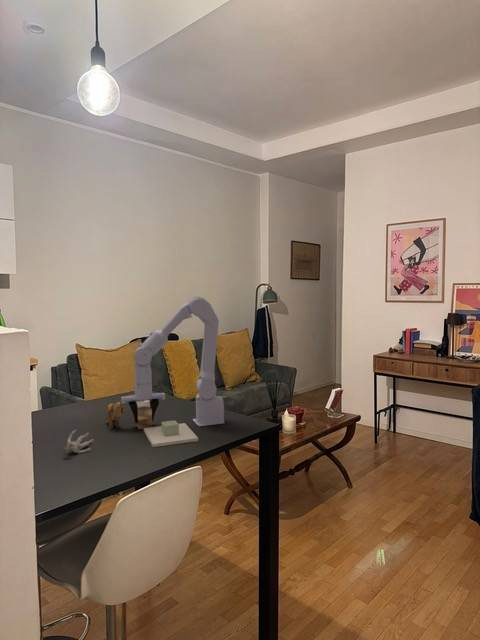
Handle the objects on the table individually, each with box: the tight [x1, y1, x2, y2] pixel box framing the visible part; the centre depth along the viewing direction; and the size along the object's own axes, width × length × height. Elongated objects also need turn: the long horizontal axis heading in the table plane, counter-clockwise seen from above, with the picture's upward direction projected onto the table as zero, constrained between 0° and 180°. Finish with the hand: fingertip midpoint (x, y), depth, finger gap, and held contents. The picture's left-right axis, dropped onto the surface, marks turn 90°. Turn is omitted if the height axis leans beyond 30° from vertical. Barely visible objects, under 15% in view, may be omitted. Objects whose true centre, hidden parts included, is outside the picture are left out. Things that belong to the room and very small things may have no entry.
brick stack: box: [135, 406, 153, 430], centre depth 155 cm, size 5×5×6 cm
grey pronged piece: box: [62, 429, 95, 455], centre depth 134 cm, size 8×5×12 cm
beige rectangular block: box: [136, 401, 150, 407], centre depth 174 cm, size 15×11×6 cm
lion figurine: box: [105, 401, 127, 430], centre depth 158 cm, size 15×5×9 cm, turn 34°
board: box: [143, 419, 199, 448], centre depth 146 cm, size 14×16×4 cm
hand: (144, 421), depth 155 cm, fingers closed on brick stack, 5 cm apart
